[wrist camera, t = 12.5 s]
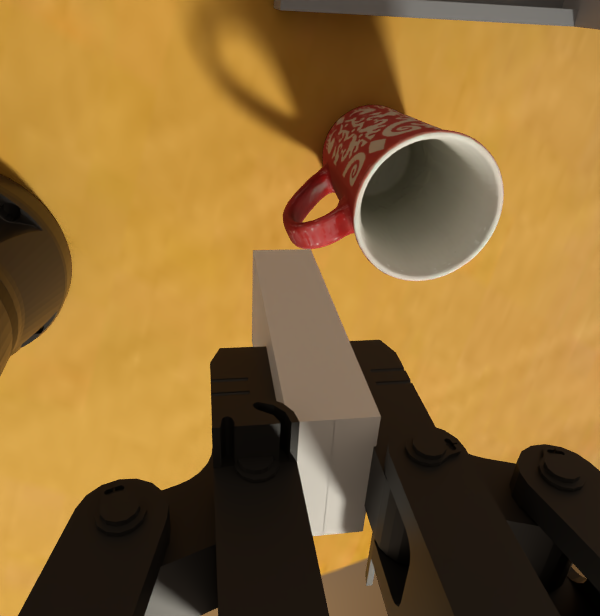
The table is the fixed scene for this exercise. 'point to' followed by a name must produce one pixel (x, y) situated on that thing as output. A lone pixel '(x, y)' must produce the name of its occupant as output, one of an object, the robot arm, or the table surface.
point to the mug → (401, 194)
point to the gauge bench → (463, 10)
